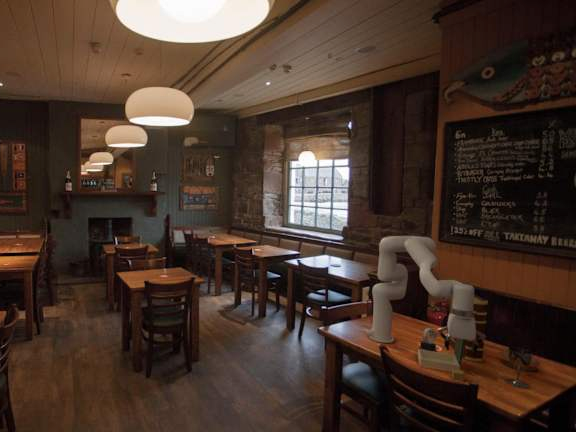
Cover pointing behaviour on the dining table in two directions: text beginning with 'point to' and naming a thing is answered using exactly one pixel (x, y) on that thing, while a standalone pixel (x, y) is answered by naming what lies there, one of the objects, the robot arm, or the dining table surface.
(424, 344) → the grey black upright piece
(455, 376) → the paperweight
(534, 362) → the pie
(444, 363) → the book
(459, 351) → the book cover
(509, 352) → the wine glass
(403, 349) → the dining table surface
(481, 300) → the decorative book
